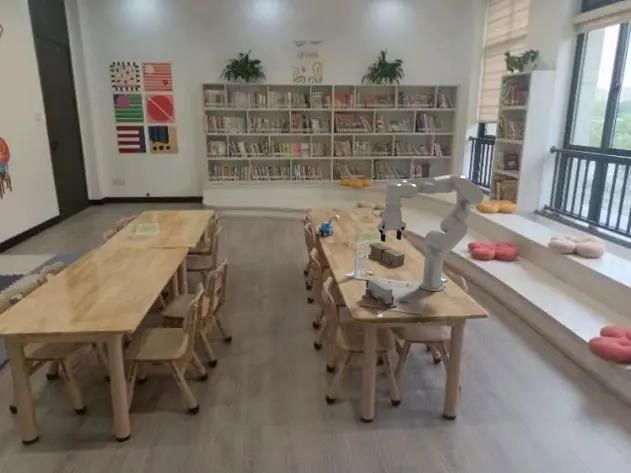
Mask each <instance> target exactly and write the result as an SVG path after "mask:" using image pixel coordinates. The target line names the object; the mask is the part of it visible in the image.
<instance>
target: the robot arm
mask: <svg viewBox="0 0 631 473" xmlns="http://www.w3.org/2000/svg"><path fill="white" fill-rule="evenodd" d="M385 187H386V188H385V192H386V193H385V206H384V207H385V208H384V210H383V211H382V215H381V221H380V223H379V224H377V226H376V228H377V230H378V232H379V233H380V242H383V243H385V242H386V238H387V237H386V233H387V232H388V231H395V230H396V236H395V238H396V239H397V240H399V241H401V240H402V233H403V231H404V230H405V228H406V226H407V223H406V222H404V221H403V216H402V210H401V208H402V207H403V205H402V204H401V202H402V201H401V200H402V199H403V198H404V199H413V198H415V197H417V195H418V194H428V195H435V194H441V193H446V192H456V193H455V194H456V195H455V196H456V203H455V206H454V208H453V209H452V210H451V211H450V212H449V214H447V215H446V216H445V218H443V220H441V222H440V224H439V227H440V230H441V231H439V230H430V231H428V232H427V233H426V234H425V235H424V236H425V237H424V248H425V249H424V253H425V254H424V264H423V265H424V266H423V276H422V278H423V279H422V282H420V283H419V288H421V289H422V288H423V290H424V289H425V291H429V292H440V291H443V290H444V285H443V284H447V283H449V280H448V278H445V279H443V278H442V276H443V266H444V265H443V264H444V254H448V253H450V252H451V251H453V249H455V248H456V246H457V245H458V244H460V242H461V241H462V240H463V239H464V238H465V237H466V235H467V233H468V224H467V222H466V220H467V219H468V217H469V216H470V214H471V208H472V207H471V206H472V205H473V206H477V205H480V204H482V202H483V201H484V193H483V190H482V189H481V188H480V187H478V186H477V185H475V183H473V182H472V181H471V180H470V179H468V177H466V176H463V175H460V174H453V173H452V174H446V175H445V174H444V175H440V176H439V175H438V176H434V177H422V178H411V179H404V180H400V181H399V182H389V183H387V184H386V186H385Z"/></svg>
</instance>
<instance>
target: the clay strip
mask: <svg viewBox="0 0 631 473" xmlns="http://www.w3.org/2000/svg"><path fill="white" fill-rule="evenodd" d="M368 280H369V281H368V286H367V289H368V290H370V291H371V293H370V294H371V295H373V296H374V297H376V298H377V299H378V297H379V296H380V297H381V298H383V302H384V303H385V304H387V303H392V296H393V288H391V287H389V286H388V285H386V284H384V283H383V282H381V281H379V280H378V279H375V278H369V279H368ZM377 280H378V281H377Z"/></svg>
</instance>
